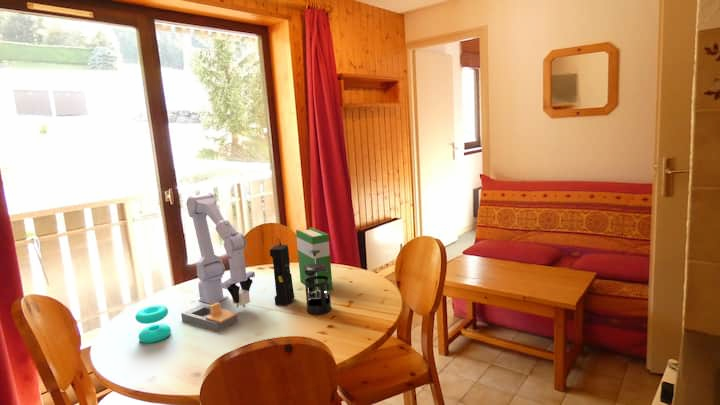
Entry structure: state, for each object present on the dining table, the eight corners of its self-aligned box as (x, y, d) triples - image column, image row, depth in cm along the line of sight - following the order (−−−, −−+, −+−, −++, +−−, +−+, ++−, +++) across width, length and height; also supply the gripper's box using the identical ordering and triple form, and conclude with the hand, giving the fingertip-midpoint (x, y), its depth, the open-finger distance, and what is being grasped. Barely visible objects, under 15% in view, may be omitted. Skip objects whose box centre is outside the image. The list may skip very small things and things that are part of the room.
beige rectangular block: (233, 307, 164) (231, 292, 163) (241, 303, 167) (239, 288, 166) (242, 309, 161) (240, 294, 160) (250, 305, 164) (248, 290, 163)
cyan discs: (138, 306, 148) (169, 302, 151) (142, 333, 150) (173, 328, 152) (131, 318, 139) (165, 312, 141) (136, 346, 140) (169, 341, 143)
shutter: (205, 318, 151) (204, 307, 151) (222, 310, 158) (221, 300, 157) (220, 322, 147) (219, 311, 146) (237, 314, 153) (236, 303, 153)
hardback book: (300, 282, 192) (295, 230, 188) (315, 278, 196) (311, 227, 192) (316, 293, 177) (311, 237, 173) (332, 289, 180) (328, 234, 177)
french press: (337, 311, 158) (332, 251, 154) (314, 318, 153) (308, 256, 150) (322, 301, 168) (318, 245, 164) (300, 308, 163) (295, 249, 160)
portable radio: (288, 306, 165) (282, 243, 161) (273, 306, 167) (267, 244, 163) (295, 298, 173) (289, 238, 169) (281, 298, 174) (275, 238, 170)
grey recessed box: (182, 321, 158) (181, 313, 158) (202, 311, 166) (201, 304, 165) (218, 331, 148) (217, 323, 147) (238, 321, 155) (237, 313, 154)
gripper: (229, 273, 153) (233, 309, 156) (258, 261, 165) (262, 295, 168) (216, 271, 157) (220, 306, 159) (246, 259, 169) (249, 292, 171)
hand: (241, 300), depth 164 cm, fingers closed on beige rectangular block, 4 cm apart
